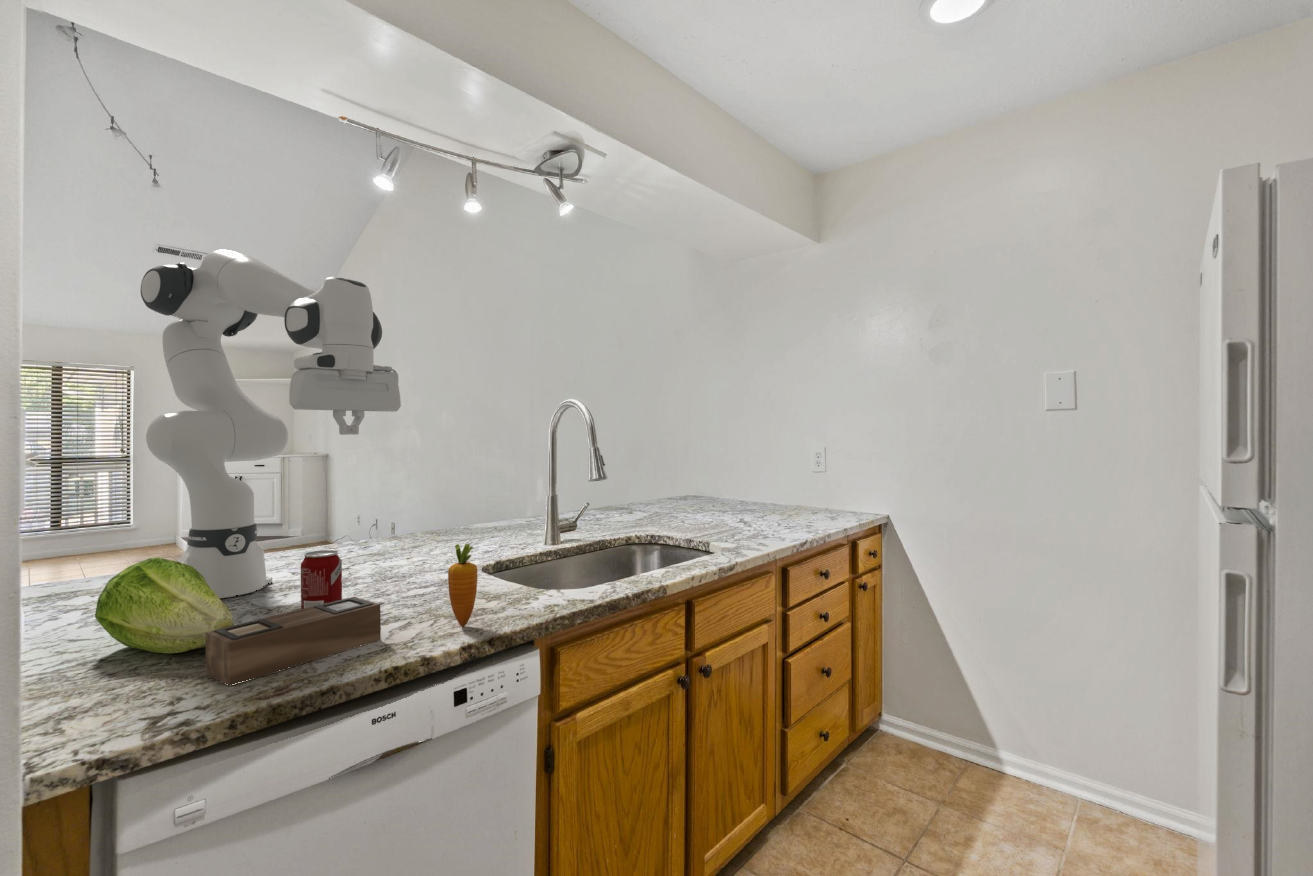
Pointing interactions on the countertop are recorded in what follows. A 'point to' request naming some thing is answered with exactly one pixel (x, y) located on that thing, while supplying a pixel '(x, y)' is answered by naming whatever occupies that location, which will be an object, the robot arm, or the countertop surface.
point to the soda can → (321, 578)
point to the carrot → (462, 585)
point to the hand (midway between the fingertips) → (349, 434)
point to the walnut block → (290, 640)
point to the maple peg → (247, 629)
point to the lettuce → (161, 607)
